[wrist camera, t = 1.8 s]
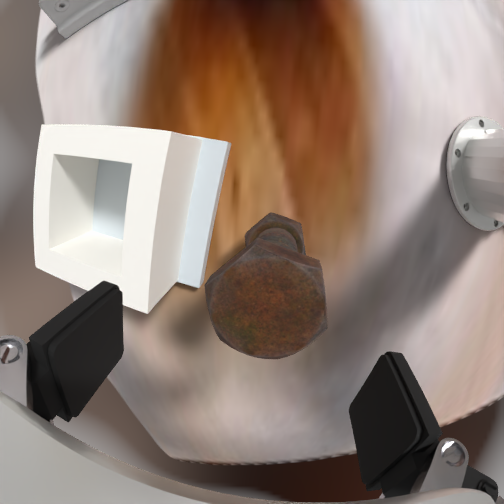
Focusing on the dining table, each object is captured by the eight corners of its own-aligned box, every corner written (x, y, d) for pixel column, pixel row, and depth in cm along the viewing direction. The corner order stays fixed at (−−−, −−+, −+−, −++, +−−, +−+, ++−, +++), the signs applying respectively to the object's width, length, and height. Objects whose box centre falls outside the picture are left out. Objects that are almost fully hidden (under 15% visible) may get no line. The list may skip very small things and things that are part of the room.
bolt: (270, 269, 27) (253, 377, 13) (236, 230, 26) (179, 306, 12) (318, 233, 25) (356, 315, 11) (284, 190, 24) (283, 223, 10)
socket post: (231, 143, 24) (205, 132, 16) (203, 282, 28) (173, 325, 20) (82, 126, 24) (29, 122, 16) (71, 240, 29) (23, 262, 21)
